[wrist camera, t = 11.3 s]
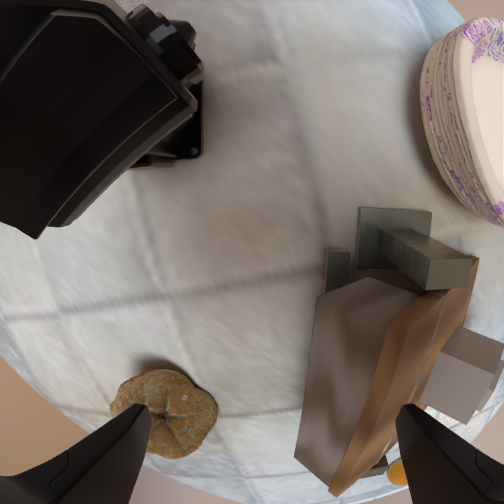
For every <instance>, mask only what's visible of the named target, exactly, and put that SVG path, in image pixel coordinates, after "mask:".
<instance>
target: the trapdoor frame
mask: <svg viewBox="0 0 504 504" xmlns="http://www.w3.org/2000/svg"><path fill="white" fill-rule="evenodd" d="M431 218H432V212H429V211H418V210H404V209H388V208H370V207H359V211H358V227H357V241H356V252H355V263H354V267H355V268H356V269H401V270H402V271H403V272H404V273H406V274H407V275H408V276H409V277H410V278H412V279H413V280H414V281H415V282H416V283H417V284H419V285H420V286H421V287H422V288H423V289H424V290H437V289H452V288H466V287H467V283H468V279H469V274H470V269H471V264H472V258H470V257H468V256H466V255H464V254H462V253H460V252H458V251H456V250H454V249H452V248H450V247H448V246H446V245H444V244H442V243H440V242H438V241H436V240H434V239H432V238H430V228H431ZM350 253H351V252H350V251H349V250H348V249H347V248H325V262H324V276H323V287H322V295H323V294H326V293H328V292H331V291H334V290H336V289H339V288H341V287H344V286H346V285H347V282H348V273H349V263H350ZM388 466H389V465H388V462H387V459H386V455H384V456H383V457H382V458H381V459H380V461H379V462H378V463H377V464H375V465H374V466H373V467H372V468H371V469H370V470H369V471H367V472H366V473H365V474H364V475H363V476H362V477H361V478H366V477H371V476H376V475H381V474H383V473H384V472H385V471H386V469H387V468H388ZM361 478H360V479H361Z"/></svg>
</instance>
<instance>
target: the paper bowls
mask: <svg viewBox="0 0 504 504" xmlns="http://www.w3.org/2000/svg"><path fill="white" fill-rule="evenodd" d="M420 106H421V112H422V120H423V124H424V129H425V134H426V138H427V141H428V143H429V148H430V151H431V153H432V157H433V160H434V162H435V163H436V166H437V167H438V169H439V171H440V174H441V176H442V178H443V180H444V181H445V183H446V184H447V185H448V187H449V188H450V189H451V191H452V192H453V193H454V195H455V196H456V197H457V199H458V200H459V201H460V202H461V203H462V204H463V205H464V206H465V207H466V208H467V209H468V210H470V211H471V212H472V213H473V214H474V215H476V216H477V217H480V218H481V219H483V220H486V221H488V222H491V223H493V224H495V225H498V226H501V227H503V228H504V22H503V21H501V20H498V19H495V18H492V17H477V18H473V19H471V20H468V21H466V22H465V23H463V24H462V25H460V26H459V27H457V28H456V29H454V30H453V31H451V32H449V33H448V34H447V35H445V36H444V37H442V38H441V39H439V40H438V41H437V42H435V43H434V44H433V46H432V47H431V48H430V50H429V52H428V54H427V56H426V58H425V60H424V63H423V67H422V71H421V76H420Z"/></svg>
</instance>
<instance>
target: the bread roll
mask: <svg viewBox="0 0 504 504" xmlns="http://www.w3.org/2000/svg"><path fill="white" fill-rule="evenodd" d="M387 477H388V479H389V480H390V482H392V483H393V484H396V485H406V484H408V482H407V478H406V474H405V471H404V467H403V464H402V460H401V458H399V459H398V460H396V461H395V462H393V463H392V464H391V466H390V467H389V470H388V473H387Z"/></svg>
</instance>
